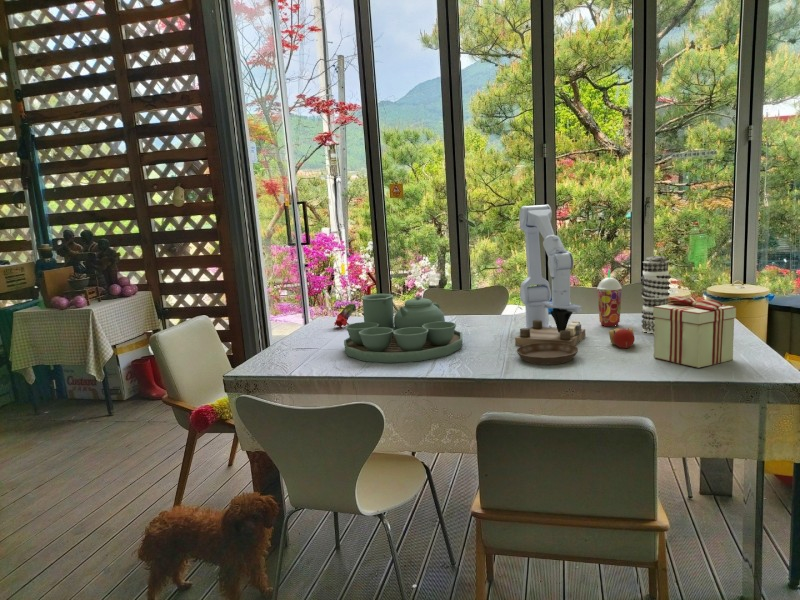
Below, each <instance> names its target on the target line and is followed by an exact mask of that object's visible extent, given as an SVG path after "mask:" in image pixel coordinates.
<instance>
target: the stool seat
mask: <svg viewBox="0 0 800 600" xmlns="http://www.w3.org/2000/svg"><path fill="white" fill-rule="evenodd" d="M585 337H586V328H582V324H581V323H580V324H577V325H576V334H575V335H574V336H571V332H570V331H569V330H561V331H560V333H559V332H558V330H557V326H556V327H553V326H551V327H542V320H533V326H532V327H531V328H524V327H522V328H519V334H518V335H517V336H516V337H514V338H515V340H514V342H515V346H519V347H521V346H524V345H528V344H534V343H564V344H569V345H573V346H575V347H576V346H577V345H578V344H579V343H580V342H581V341H582V340H583V339H584V338H585ZM581 339H582V340H581ZM580 340H581V341H580ZM579 341H580V342H579ZM578 342H579V343H578ZM577 343H578V344H577Z"/></svg>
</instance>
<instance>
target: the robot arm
mask: <svg viewBox="0 0 800 600" xmlns="http://www.w3.org/2000/svg"><path fill="white" fill-rule="evenodd" d="M518 217H519V221H518V222H519V227H520V230H521V231H523V232H524V240H525V241H524V242H525V256H526V270H527V277H526V278H525V279H524V280H523V281H522V282H521V283H520V291H519V298H520V301H521V303H522V304H523V305H524V306H525V327H523V328H531V327H532V326H533V320H542V327H552V324H550V322H549V319H550V317H549V315H550V316H551V317H552V319H553V320H554V322H555V325H556V327H557V330H558V332H559V333H560V331H561V330H565V328H566V327H567V326H568V322H569V320H570V318H571V316H572V314H573V313H575V314H580V313H583V309H582V308H583V306H582V305H577V304H574V303H571V270H572V269H573V268H574V257H573V254H572V252H570V251H569V250H567V249H565V246H564V244H563V242H562V240H561V238H560V236H559V235H555V232H554V230H553V227H552V226H553V225H552V217H553V211H552V208H551V206H550V205H549V204H540V205H539V204H536V205H522V206H521V207H520V209H519V213H518ZM540 234H541V236H542V238H543V242H542V246H543V248H544V250H545V253H546V255H547V257H548V261H547V266H548V269H549V275H550V277H551V288H550V282H549V281H548V280H547V279H546V278H544V277H543V276H542V275H543V274H542V261H541V260H542V258H541V247H540V246H541V244H540ZM549 309H551V311H550V314H549Z"/></svg>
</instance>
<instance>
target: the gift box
mask: <svg viewBox="0 0 800 600" xmlns="http://www.w3.org/2000/svg"><path fill="white" fill-rule="evenodd" d="M667 300H668V302H670V303H668V304H667V305H661V306H655V307H653V317H654V318H655V322H654V334H653V337H654V338H653V339H654V340H653V358H655V359H658V360H663V361H667V362H671V363H675V364H680V365H684V366H689V367H692V368H699V369H700V368H703V367H708V366H714V365H718V364H722V363H726V362H728V361H729V362H730V361H733V359H734V337H735V335H734V334H735V333H734V332H735V331H734V330H735V319H736V318H737V307H736V306H733V305H726V304H723V303H722V302H720V301H717V300H714V299H705V300H703V299H700V300H698V301H696V300H695V301H694V300H693V299H692V298H690V297H687V296H684V295H683V296H681V295H677V296H676V295H675V296H672V297H669V298H668V299H667Z"/></svg>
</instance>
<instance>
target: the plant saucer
mask: <svg viewBox="0 0 800 600" xmlns="http://www.w3.org/2000/svg"><path fill="white" fill-rule="evenodd" d="M515 351H516V353H517V355H518V356H519V357H520V358H521V359H522V360H523V361H525V362H526V363H529V364H533V363H535V364H536V365H543V364H550V365H559V364H560V363H561V364H565V363H567V362H568V363H569V362H570V361H571V360H573V359H574V357H576V355H577V354H578V352H579V348H578V347H577V346H576V345H575V346H573V345H569V344H564V343H534V344H528V345H524V346H519V347H518V348H517V349H516V350H515Z"/></svg>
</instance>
